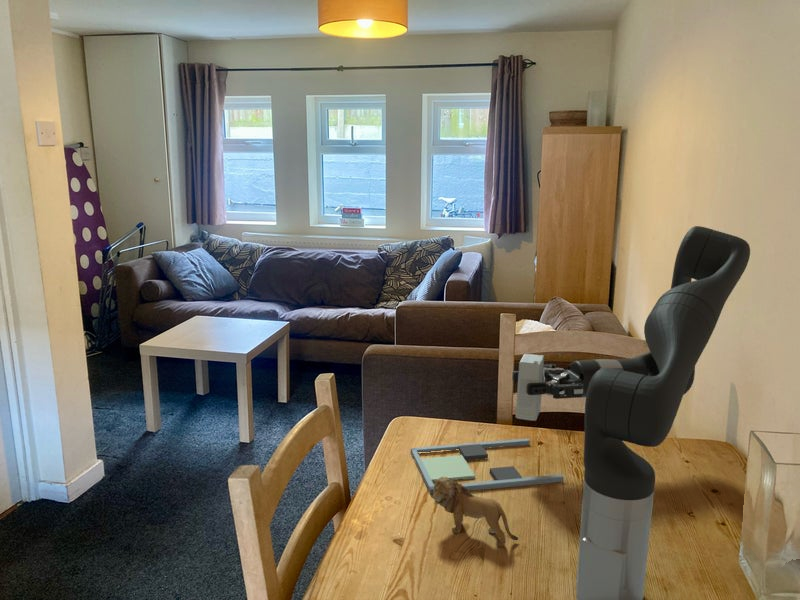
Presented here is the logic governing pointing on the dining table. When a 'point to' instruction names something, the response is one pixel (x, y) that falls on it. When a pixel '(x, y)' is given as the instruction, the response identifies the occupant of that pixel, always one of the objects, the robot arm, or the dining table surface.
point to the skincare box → (528, 373)
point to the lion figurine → (469, 507)
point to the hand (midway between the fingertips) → (520, 383)
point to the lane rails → (486, 483)
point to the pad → (448, 467)
